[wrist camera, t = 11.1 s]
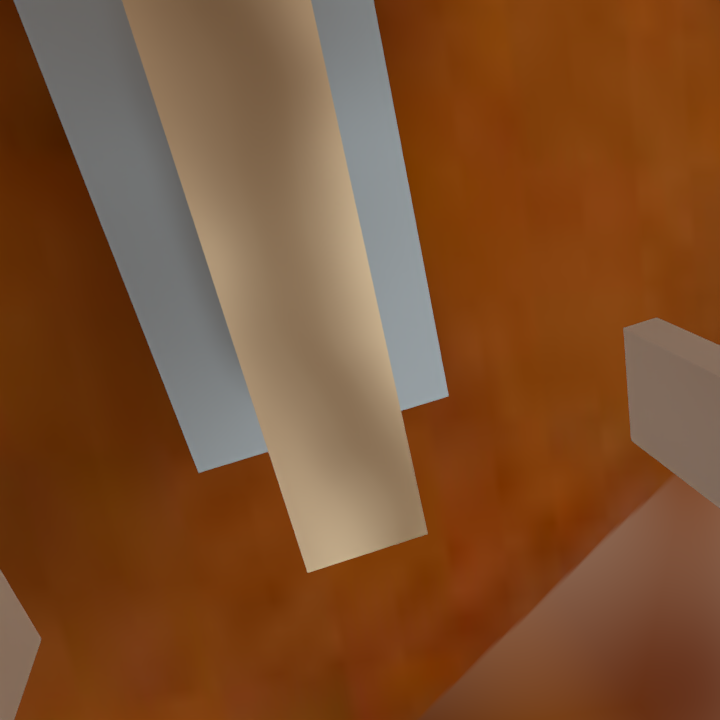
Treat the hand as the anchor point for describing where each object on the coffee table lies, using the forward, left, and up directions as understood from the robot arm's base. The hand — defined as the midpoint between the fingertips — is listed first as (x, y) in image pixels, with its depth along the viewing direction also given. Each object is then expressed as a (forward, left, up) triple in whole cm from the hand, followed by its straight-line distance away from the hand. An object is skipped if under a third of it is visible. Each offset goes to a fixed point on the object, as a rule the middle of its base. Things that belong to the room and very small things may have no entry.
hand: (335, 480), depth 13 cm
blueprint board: (+1, +1, -24) cm, 24 cm away
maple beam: (+1, +1, -16) cm, 16 cm away
